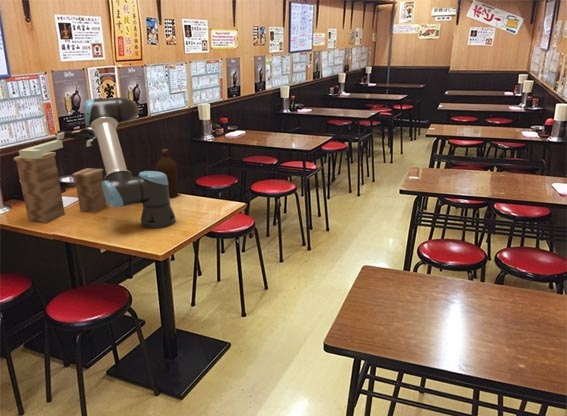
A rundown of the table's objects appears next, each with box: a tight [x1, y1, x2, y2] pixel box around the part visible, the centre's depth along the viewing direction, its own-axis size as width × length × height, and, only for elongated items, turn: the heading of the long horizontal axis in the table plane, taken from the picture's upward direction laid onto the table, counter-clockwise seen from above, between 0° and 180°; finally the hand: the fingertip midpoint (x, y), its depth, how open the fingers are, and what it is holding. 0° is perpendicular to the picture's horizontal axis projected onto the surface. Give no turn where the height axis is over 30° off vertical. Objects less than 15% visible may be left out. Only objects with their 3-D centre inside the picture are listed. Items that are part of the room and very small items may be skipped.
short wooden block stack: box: [72, 167, 108, 213], centre depth 223 cm, size 9×11×19 cm
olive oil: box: [155, 148, 179, 199], centre depth 241 cm, size 11×11×25 cm
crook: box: [18, 139, 64, 159], centre depth 208 cm, size 24×8×3 cm, turn 168°
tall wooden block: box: [13, 151, 66, 224], centre depth 209 cm, size 11×13×30 cm
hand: (72, 140), depth 216 cm, fingers open, 13 cm apart
